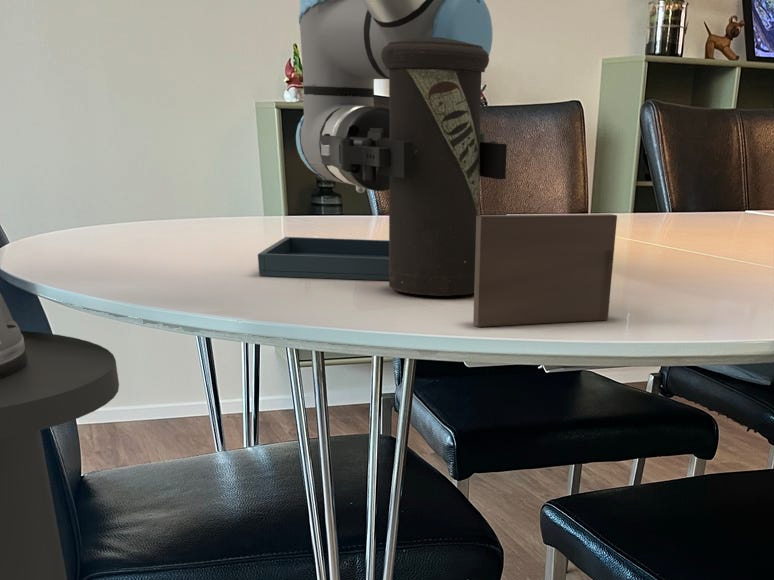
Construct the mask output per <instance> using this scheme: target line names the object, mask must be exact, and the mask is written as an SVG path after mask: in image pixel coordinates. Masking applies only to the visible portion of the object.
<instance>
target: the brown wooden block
mask: <svg viewBox="0 0 774 580" xmlns="http://www.w3.org/2000/svg"><path fill="white" fill-rule="evenodd" d="M617 221H618V215H617V214H613V213H589V214H588V213H580V214H579V213H578V214H577V213H576V214H573V213H572V214H569V213H567V214H565V213H564V214H479V215H477V216H476V249H475V284H474V293H473V320H472V321H473V322H472V323H473V324H472V325H473V326H476V327H478V328H485V327H487V328H488V327H503V326H504V327H505V326H506V327H507V326H524V325H525V326H526V325H540V324H541V325H543V324H560V323H561V324H562V323H578V322H595V321H608V320H609V309H610V299H611V289H612V278H613V269H614V268H613V265H614V254H615V244H616V233H617V223H618V222H617Z"/></svg>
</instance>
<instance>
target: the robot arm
mask: <svg viewBox="0 0 774 580" xmlns="http://www.w3.org/2000/svg"><path fill="white" fill-rule="evenodd" d="M298 23H299V32H300V34H299V35H300V50H301V62H302V63H301V67H302V82H303V83H302V84H303V94H302V100H303V101H302V103H303V115H302V117H300V120H299V122H298V124H297V128H296V133H295V144H296V149H297V152H298V155H299V157H300V160H302V162H303V163H304V165H305V166H306V168H308V169H309V170H310V171H312V172H313V173H315V174H316V175H318V176H319V177H321V178H322V179H326V180H327V181H329V182H338V183H342V184H347V185H351V186H355V190H356V192H357V193H360V194H361V193H362V194H363V193H364V192H365V191H366V190H370V191H375V192H385V191H390V190H389V188H390V181H389V175H390V176H394V177H399V178H406V179H413V142H408V141H400V140H392V139H390V108H387V107H385V106H384V107H383V106H375V101H374V100H375V99H374V97H375V89H374V88H375V80H389V69H386V67H385V65H384V63H383V61H382V58H381V53H382V50H383V48H384V47H385V46H387V44H388V43H389V42H395V41H402V40H409V39H418V38H427V37H441V38H446V39H451V40H457V41H462V42H466V43H470V44H474V45H479V46H482V47H483V49H484V50H485V51H486V52H487V53H488V55H489V56H490V54H491V50H492V45H493V34H494V33H493V22H492V17H491V12H490V10H489V8H488V6H487V3H486V1H485V0H299V15H298ZM507 148H508V144H507V143H501V142H498V141H496V140H490V141H486V133H482V132H480V177H483V178H487V179H494V180H506V174H507V173H506V172H507V151H508V149H507ZM20 331H21V329H20V327H19V325H18V323H17V322H16V321H15V320H14V319H13V316H12V314H11V312H10V310H9V307H8V305H7V303H6V301H5V299H4V297H3V295H2V293H1V292H0V379H1V378H4V377H7V376H10V375H12V374H14V373H16V372H18V371H20V370H21V369H22V368H24V367H25V366H26V364H27V355H26V350H25V344H24V339H23V335H22V334H21V332H20Z"/></svg>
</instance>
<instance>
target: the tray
mask: <svg viewBox="0 0 774 580" xmlns="http://www.w3.org/2000/svg"><path fill="white" fill-rule="evenodd" d="M257 262H258V263H257V264H258V275H259V277H276V278H277V277H278V278H279V277H280V278H309V279H333V280H334V279H335V280H336V279H337V280H364V281H389V239H387V240H386V239H359V238H358V239H357V238H356V239H355V238H334V237H333V238H331V237H329V238H328V237H304V236H303V237H299V236H285V237H283V238H281V239H280V240H278V241H277V242H275V243H274V244H271V245H270V246H269V247H267V248H266V249H264V250H261V252H258V253H257Z"/></svg>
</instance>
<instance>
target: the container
mask: <svg viewBox="0 0 774 580" xmlns="http://www.w3.org/2000/svg"><path fill="white" fill-rule="evenodd" d="M381 58H382V61H383V63H384V65H385V67H386V69H389V79H388V84H389V85H388V87H389V88H388V90H389V91H388V93H389V94H388V96H389V97H388V98H389V100H388V101H389V102H388V103H389V109H390V139H392V140H400V141H408V142H413V179H406V178H399V177H394V176H390V175H389V181H390V188H389V190H388V191H389V192H388V193H389V195H388V196H389V205H388V207H389V208H388V210H389V211H388V213H389V214H388V217H389V218H388V240H389V280H388V286H389V288H390V289H392V290H393V291H396V292H401V293H404V294H411V295H421V296H434V297H435V296H438V297H441V296H442V297H447V296H465V295H471V294H474V284H475V249H476V216H477V215H480V202H481V201H480V194H481V193H480V192H481V190H480V185H481V184H480V183H481V176H480V133H481V122H482V121H481V120H482V119H481V117H482V115H481V114H482V113H481V110H482V73H485V72H486V69H487V67H488V66H489V62H490V54H489V55H488V53H487V52H486V51H485V50H484V49H483V47H482V46H479V45H474V44H470V43H466V42H462V41H457V40H451V39H446V38H441V37H427V38H418V39H409V40H402V41H395V42H389V43H388V44H387V46H385V47H384V48H383V50H382V53H381Z"/></svg>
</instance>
